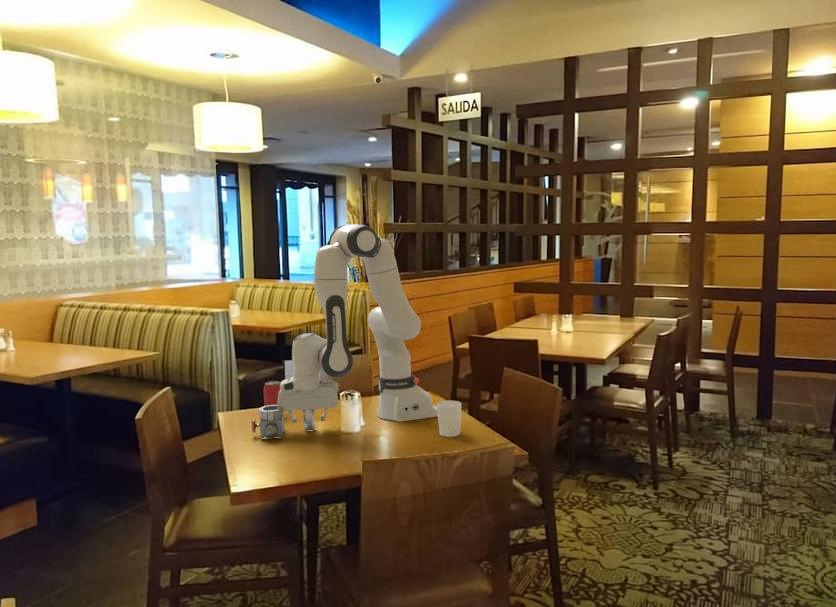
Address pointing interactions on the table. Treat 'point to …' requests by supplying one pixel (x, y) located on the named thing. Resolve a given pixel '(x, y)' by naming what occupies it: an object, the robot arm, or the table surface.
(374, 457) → the table surface
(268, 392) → the beer can
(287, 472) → the table surface
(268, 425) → the valve body
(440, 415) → the white cup
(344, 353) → the robot arm
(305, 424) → the pipe nipple
